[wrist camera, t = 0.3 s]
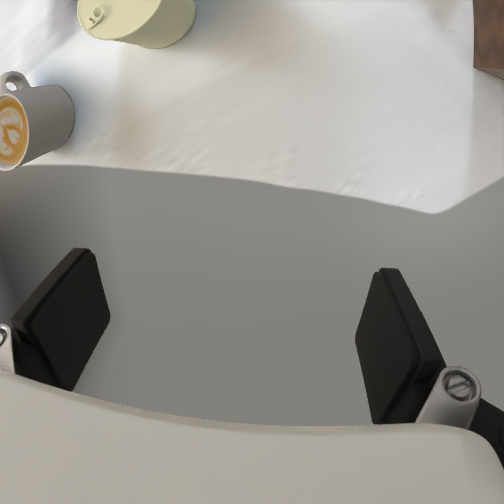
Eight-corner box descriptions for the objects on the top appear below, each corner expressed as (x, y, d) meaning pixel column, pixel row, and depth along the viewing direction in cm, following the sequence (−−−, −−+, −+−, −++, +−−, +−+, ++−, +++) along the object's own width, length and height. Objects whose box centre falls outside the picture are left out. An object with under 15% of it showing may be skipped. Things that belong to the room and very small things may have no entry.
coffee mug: (81, 140, 38) (37, 159, 29) (33, 157, 39) (-10, 179, 30) (64, 52, 31) (17, 53, 22) (17, 78, 32) (-29, 87, 24)
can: (112, 20, 29) (58, 7, 19) (165, -29, 26) (126, -62, 16) (154, 63, 32) (108, 59, 22) (211, 13, 29) (185, -14, 19)
